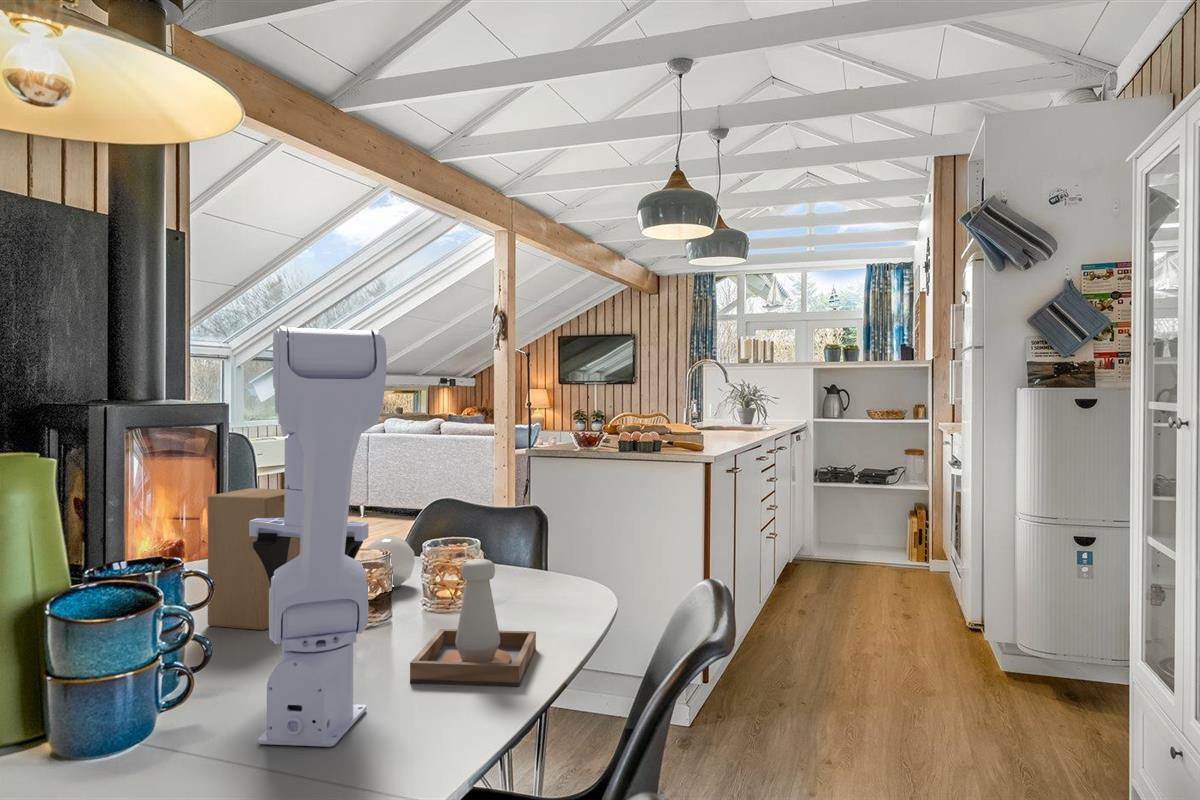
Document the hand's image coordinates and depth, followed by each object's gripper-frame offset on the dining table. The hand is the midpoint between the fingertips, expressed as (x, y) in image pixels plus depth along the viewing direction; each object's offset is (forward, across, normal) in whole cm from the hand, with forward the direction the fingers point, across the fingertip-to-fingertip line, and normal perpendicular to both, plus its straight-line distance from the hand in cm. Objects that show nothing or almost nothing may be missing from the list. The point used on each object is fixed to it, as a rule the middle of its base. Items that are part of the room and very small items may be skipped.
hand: (308, 594), depth 95 cm
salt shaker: (+10, -20, -6) cm, 23 cm away
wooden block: (+12, +19, -23) cm, 32 cm away
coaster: (+10, -20, -6) cm, 23 cm away
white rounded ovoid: (+12, +6, -41) cm, 43 cm away
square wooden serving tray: (+10, -20, -6) cm, 23 cm away
